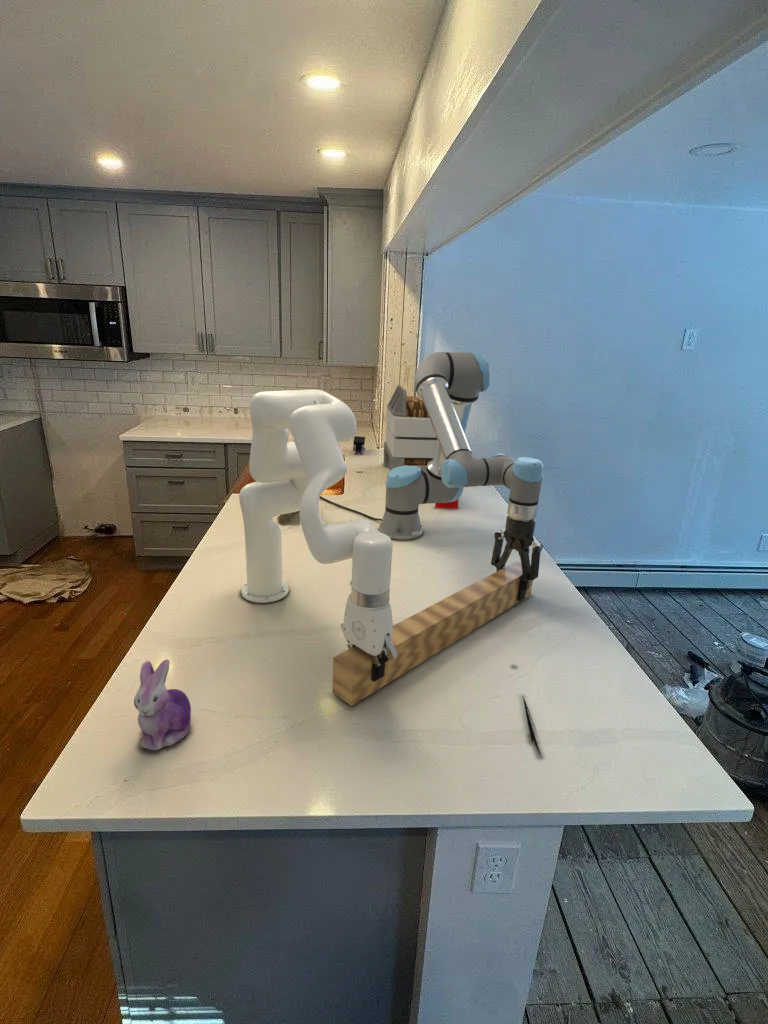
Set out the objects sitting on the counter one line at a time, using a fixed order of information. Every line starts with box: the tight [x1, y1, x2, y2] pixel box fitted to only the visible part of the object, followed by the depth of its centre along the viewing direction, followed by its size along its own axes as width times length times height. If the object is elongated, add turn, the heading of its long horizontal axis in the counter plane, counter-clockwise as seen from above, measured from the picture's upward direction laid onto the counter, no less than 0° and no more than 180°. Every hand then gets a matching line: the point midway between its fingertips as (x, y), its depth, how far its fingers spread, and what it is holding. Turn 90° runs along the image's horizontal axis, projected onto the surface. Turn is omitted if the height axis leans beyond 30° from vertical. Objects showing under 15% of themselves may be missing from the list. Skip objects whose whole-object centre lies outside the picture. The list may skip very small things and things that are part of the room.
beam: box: [331, 560, 534, 707], centre depth 136 cm, size 70×6×9 cm, turn 136°
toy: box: [434, 497, 460, 509], centre depth 239 cm, size 12×13×30 cm
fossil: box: [277, 510, 300, 524], centre depth 211 cm, size 22×10×15 cm
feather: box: [513, 664, 541, 755], centre depth 114 cm, size 2×28×2 cm
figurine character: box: [352, 435, 366, 455], centre depth 308 cm, size 7×8×15 cm
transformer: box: [383, 384, 437, 471], centre depth 268 cm, size 34×33×41 cm
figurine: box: [133, 658, 192, 751], centre depth 101 cm, size 9×10×15 cm
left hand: (366, 670), depth 117 cm, fingers closed on beam, 5 cm apart
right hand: (510, 594), depth 157 cm, fingers open, 6 cm apart
